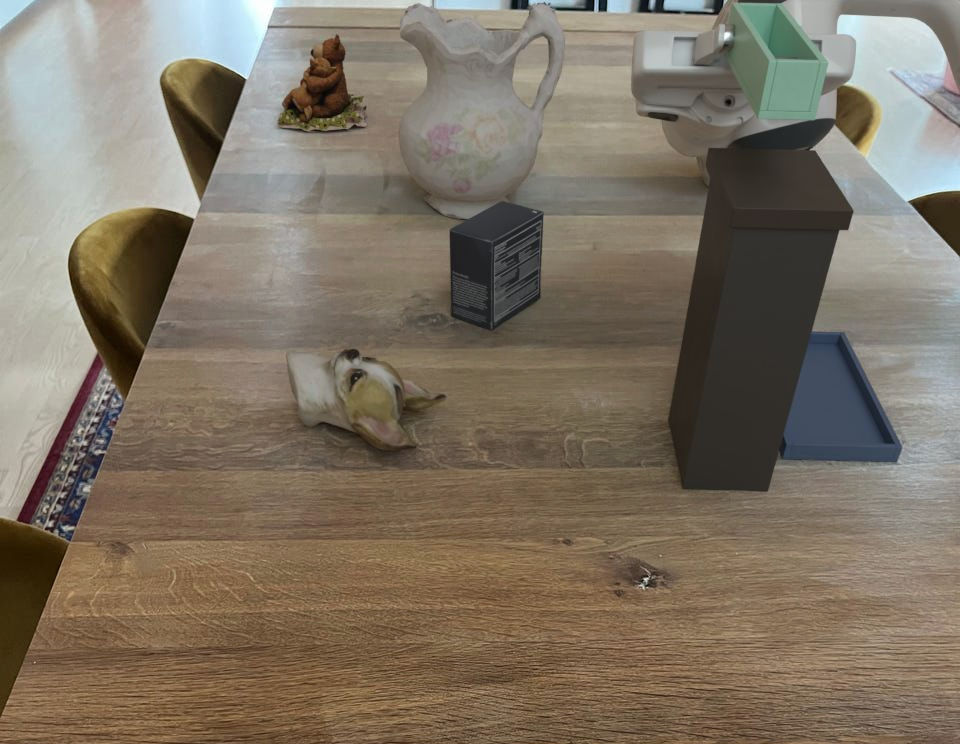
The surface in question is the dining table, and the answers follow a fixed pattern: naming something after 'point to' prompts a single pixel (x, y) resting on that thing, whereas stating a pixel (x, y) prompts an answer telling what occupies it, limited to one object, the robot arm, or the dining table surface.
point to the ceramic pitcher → (474, 108)
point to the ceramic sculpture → (356, 395)
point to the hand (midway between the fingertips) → (760, 35)
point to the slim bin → (775, 62)
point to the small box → (496, 264)
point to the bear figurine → (323, 94)
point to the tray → (836, 408)
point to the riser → (751, 311)
